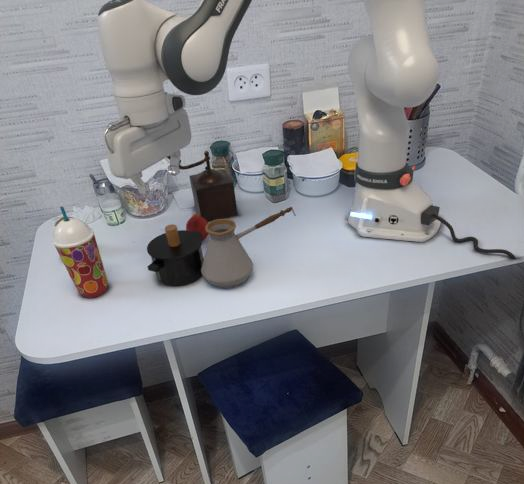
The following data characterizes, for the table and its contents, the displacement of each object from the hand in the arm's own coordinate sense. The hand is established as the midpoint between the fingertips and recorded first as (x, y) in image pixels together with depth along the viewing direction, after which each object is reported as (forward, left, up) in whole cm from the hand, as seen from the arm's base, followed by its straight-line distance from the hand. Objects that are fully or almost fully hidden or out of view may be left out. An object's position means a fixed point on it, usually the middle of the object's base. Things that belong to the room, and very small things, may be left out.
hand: (160, 183), depth 94 cm
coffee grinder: (+12, -27, -21) cm, 36 cm away
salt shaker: (+30, +4, -21) cm, 37 cm away
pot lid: (0, 0, -14) cm, 14 cm away
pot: (0, 0, -21) cm, 21 cm away
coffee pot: (-16, -5, -21) cm, 27 cm away
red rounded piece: (+4, -13, -21) cm, 25 cm away
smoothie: (+14, +14, -21) cm, 29 cm away
